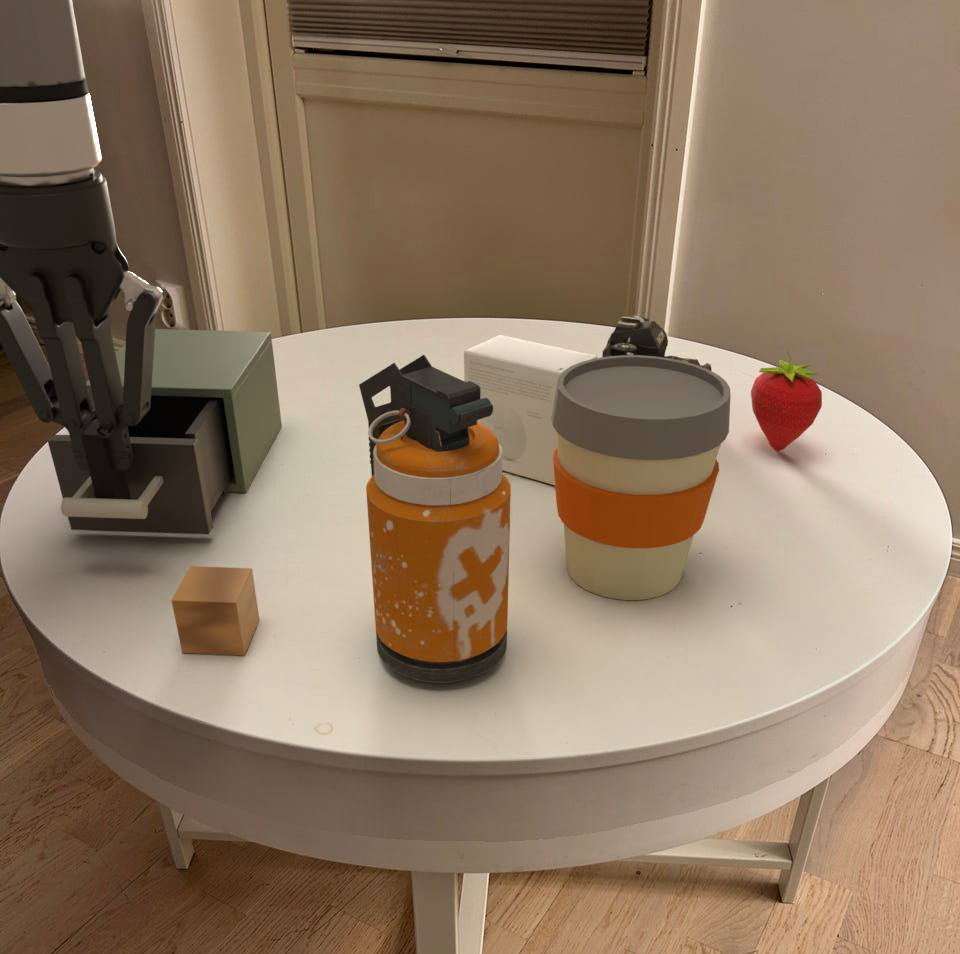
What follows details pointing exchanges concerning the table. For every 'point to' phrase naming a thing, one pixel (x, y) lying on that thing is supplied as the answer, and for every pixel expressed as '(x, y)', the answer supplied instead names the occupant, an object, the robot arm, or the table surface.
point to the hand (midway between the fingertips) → (115, 506)
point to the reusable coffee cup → (635, 468)
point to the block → (216, 610)
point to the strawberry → (785, 402)
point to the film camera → (641, 340)
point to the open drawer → (156, 471)
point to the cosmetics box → (521, 399)
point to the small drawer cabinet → (222, 387)
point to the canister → (436, 525)
